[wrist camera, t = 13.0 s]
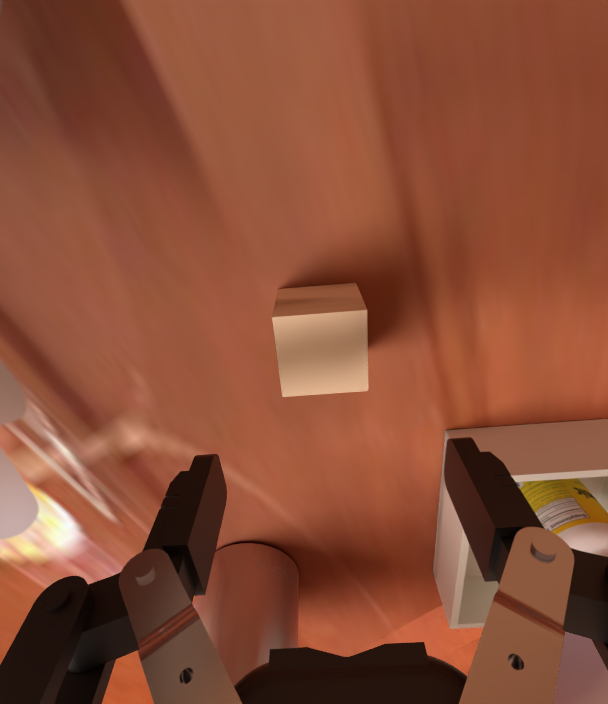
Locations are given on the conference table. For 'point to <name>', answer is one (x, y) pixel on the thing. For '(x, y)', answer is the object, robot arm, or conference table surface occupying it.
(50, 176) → the conference table surface
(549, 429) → the box
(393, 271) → the conference table surface
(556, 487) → the supplement bottle
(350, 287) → the birch cube
